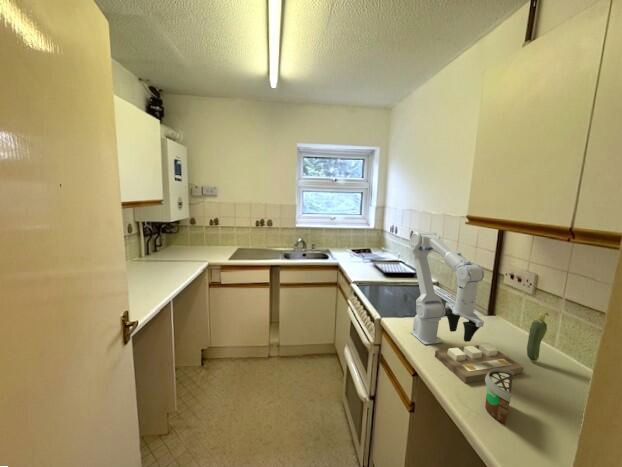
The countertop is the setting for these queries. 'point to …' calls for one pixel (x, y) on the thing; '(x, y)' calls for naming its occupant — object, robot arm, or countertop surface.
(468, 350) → the middle button
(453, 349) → the near button
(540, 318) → the vegetable
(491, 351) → the far button
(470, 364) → the button board
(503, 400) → the food container
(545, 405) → the countertop surface
